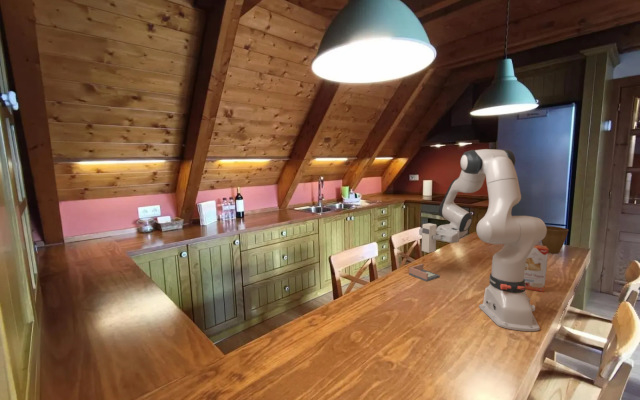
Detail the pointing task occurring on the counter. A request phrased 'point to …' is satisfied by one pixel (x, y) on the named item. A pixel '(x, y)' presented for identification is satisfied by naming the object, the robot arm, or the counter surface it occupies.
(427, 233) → the painted block
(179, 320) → the counter surface
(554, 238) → the plant pot
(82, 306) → the counter surface
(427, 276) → the corner arena
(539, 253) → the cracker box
